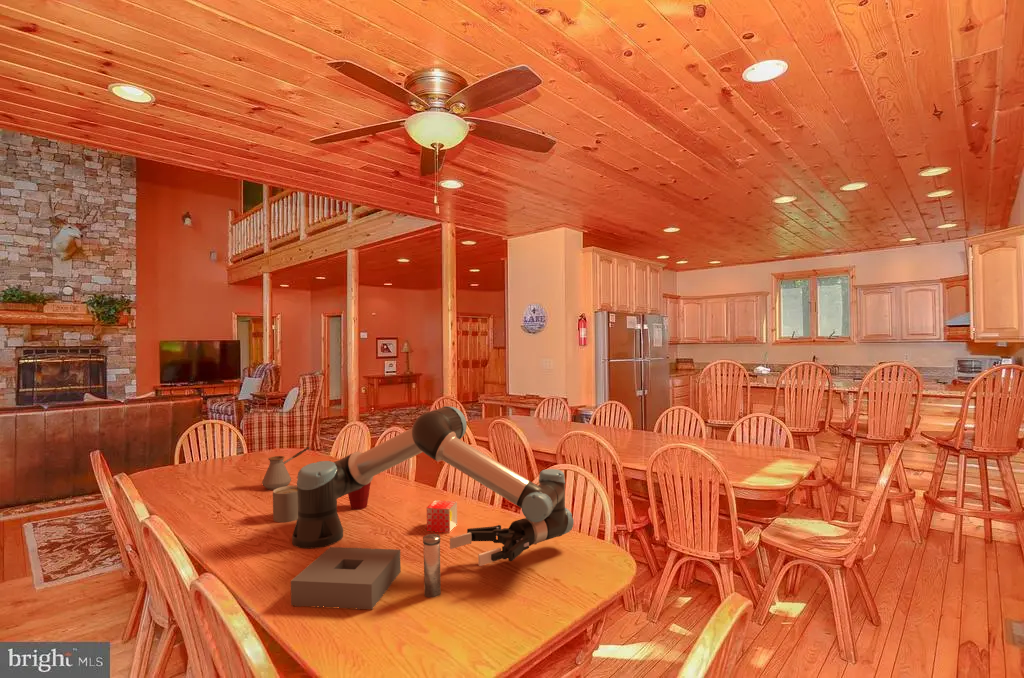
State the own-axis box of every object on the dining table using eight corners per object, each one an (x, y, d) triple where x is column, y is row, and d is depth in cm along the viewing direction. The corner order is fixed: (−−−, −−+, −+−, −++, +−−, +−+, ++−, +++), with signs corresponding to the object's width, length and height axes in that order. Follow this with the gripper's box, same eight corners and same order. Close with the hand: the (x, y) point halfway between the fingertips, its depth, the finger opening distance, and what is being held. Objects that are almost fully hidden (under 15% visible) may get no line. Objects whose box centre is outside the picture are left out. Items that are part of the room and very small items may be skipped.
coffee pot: (269, 493, 216) (268, 457, 216) (257, 488, 224) (256, 453, 224) (317, 481, 233) (317, 448, 232) (304, 477, 240) (304, 445, 240)
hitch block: (291, 605, 124) (290, 580, 124) (330, 568, 144) (330, 547, 144) (371, 610, 121) (371, 584, 121) (400, 571, 141) (400, 549, 141)
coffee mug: (283, 524, 179) (283, 495, 179) (267, 518, 185) (267, 490, 185) (317, 513, 190) (317, 485, 190) (301, 508, 196) (300, 481, 196)
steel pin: (421, 597, 127) (420, 540, 127) (426, 589, 131) (425, 533, 131) (438, 598, 127) (437, 540, 126) (443, 589, 131) (442, 534, 131)
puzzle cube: (449, 533, 169) (449, 508, 169) (426, 531, 171) (426, 507, 170) (457, 524, 177) (456, 501, 177) (435, 523, 178) (434, 500, 178)
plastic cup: (337, 510, 193) (336, 478, 193) (356, 501, 203) (355, 470, 203) (361, 513, 189) (360, 480, 189) (379, 504, 199) (378, 473, 199)
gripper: (557, 559, 138) (492, 583, 125) (501, 532, 157) (440, 551, 144) (557, 531, 138) (492, 552, 125) (500, 507, 157) (439, 523, 144)
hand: (464, 551), depth 135 cm, fingers open, 13 cm apart
